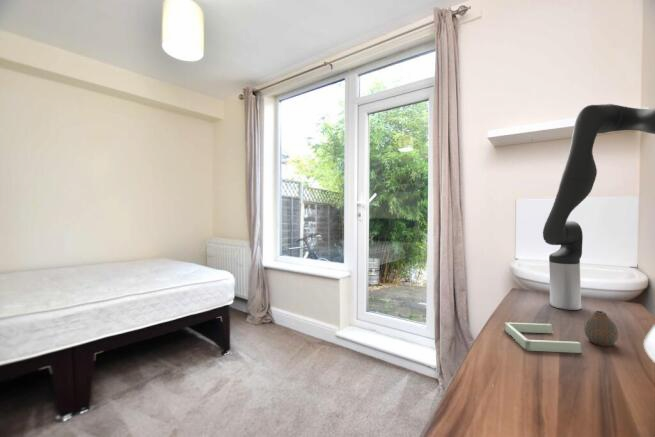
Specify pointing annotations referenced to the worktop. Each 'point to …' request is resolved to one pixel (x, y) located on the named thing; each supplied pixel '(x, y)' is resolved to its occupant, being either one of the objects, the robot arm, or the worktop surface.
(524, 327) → the bay
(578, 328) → the worktop surface
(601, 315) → the vase
